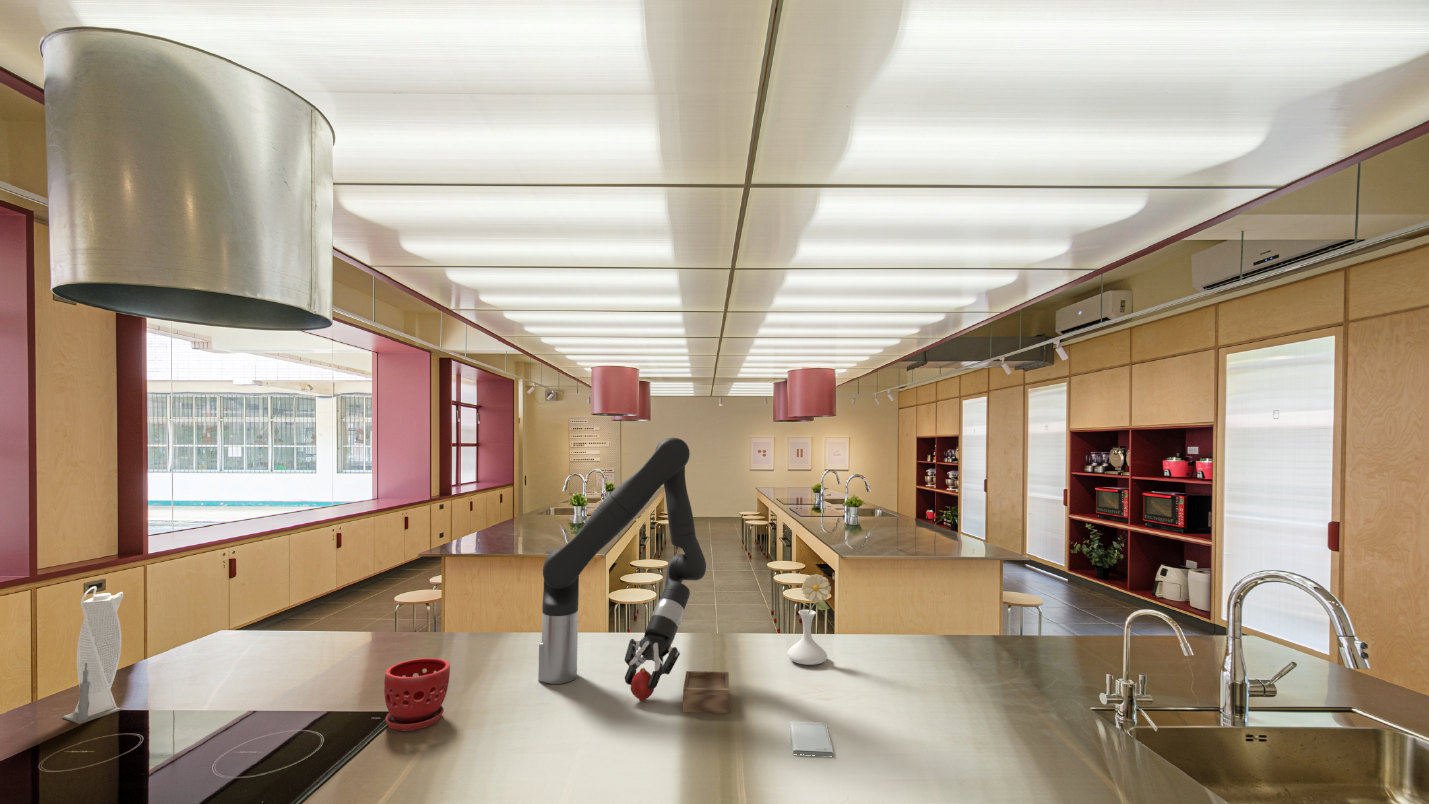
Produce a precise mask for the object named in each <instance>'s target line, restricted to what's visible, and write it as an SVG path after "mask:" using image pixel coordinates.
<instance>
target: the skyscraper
mask: <svg viewBox="0 0 1429 804" xmlns="http://www.w3.org/2000/svg"><path fill="white" fill-rule="evenodd" d="M97 589H98V587H97V586H95V585H94V586H92V587H90V588H89V589H87V590H86V591H85V592H84V594H83V595H82V597H81V600H80V603H79V604H80V607H81V610H82V613H83V620H82V623H81V627H80V630H79V631H80V632H79V635H78V639H77V647H76V672H77V679H78V685H79V693H80V694H79V699H78V702H77V705H76V706H75V709H74V712H72V713H69V714H66V715H65V714H64V715H63V716H62V719H65V720H67V721H70V722H73V723H76V724H79V725H80V724H85V723H87V722H90V721H93V720H95V719H98V718H99V719H100V718H102V717H105V716H108V715H111V714H114V713H116V712H120V711H121V707H118V706H117V704H116V702H115V698H114V696H113V692H112V690H111V689H112V686H113V683H114V680H115V677H116V673H117V671H118V666H119V662H120V657H121V652H122V644H123V643H122V640H123V639H122V638H123V637H122V636H123V635H122V629H121V621H120V619H119V615H118V611H119V607H120V605H121V602H122V600H123V597H124V594H125V593H124V592H123V591H120V592H118V593H116V594H114V595H112V594H111V593H110V592H105V593H97ZM91 590H93V592H92V597H90V598H88V599H86V600H85V598H86V597H87V594H88V593H89V592H90V591H91Z"/></svg>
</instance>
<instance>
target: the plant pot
mask: <svg viewBox="0 0 1429 804" xmlns="http://www.w3.org/2000/svg"><path fill="white" fill-rule="evenodd" d="M423 670H426V671H425V672H424V671H423ZM450 673H451V664H450V662H449V661H447V660H445V659H441V658H432V657H431V658H430V657H425V658H423V657H422V658H415V659H409V660H405V661H402V662H398V663H396V664H394V665H391V666H390V667H388V668H387V669H386V671H385V675H384V681H383V683H384V685H383V686H384V688H383V691H384V701H385V705H386V709H387V711H388V713H387V715H386V716H385V723H386V724H387V726H388V727H389V728H390V729H393V730H395V731H401V732H406V731H407V732H408V731H415V730H419V729H423V728H426V727H429V726H431V725H433V724H434V723H436V722H438V721H439V719H440V718H441V717H442V716H443V714H444V706H443V705H442V704H443V702H444V701H445V698H446V695H447V693H448V688H449V681H450V676H451V674H450ZM415 674H418V675H417V676H414V675H415Z"/></svg>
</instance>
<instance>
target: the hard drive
mask: <svg viewBox="0 0 1429 804" xmlns="http://www.w3.org/2000/svg"><path fill="white" fill-rule="evenodd" d="M788 727H789V728H790V729H789V736H791V737H790V743H791V744H792V745H791V752H792V751H793V753H792V755H793V754H797V755H800V754H802V755H803V754H804V755H811V756H810V757H813V756H812V755H815V756H814V757H816V756H832V757H831V758H834V756H835V755H834V749H833V745H832V741H831V738H830V734H829V731H828V726H827V724H826V723H825V722H816V721H815V722H814V721H813V722H812V721H793V720H792V721H789V722H788Z"/></svg>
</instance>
